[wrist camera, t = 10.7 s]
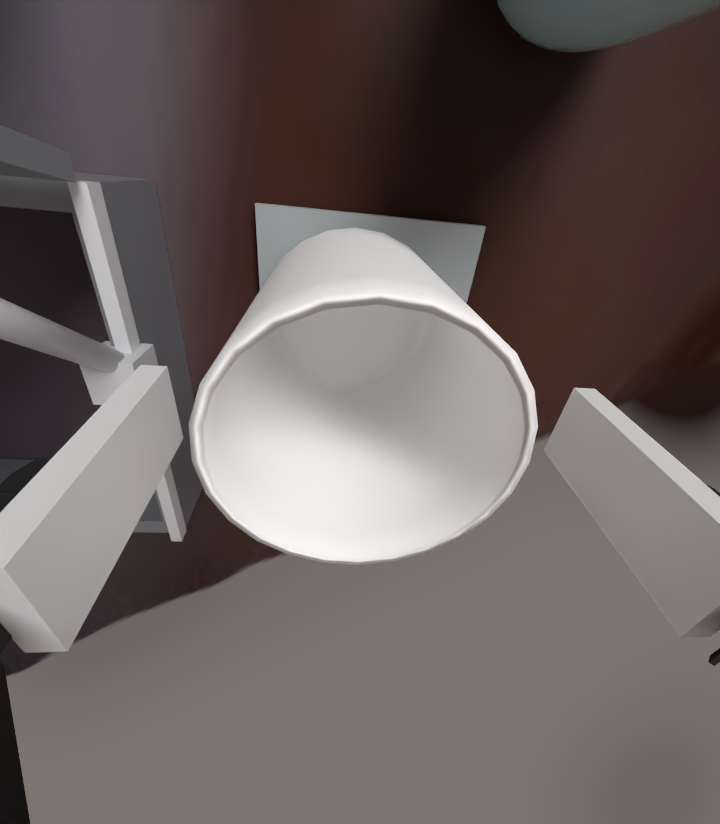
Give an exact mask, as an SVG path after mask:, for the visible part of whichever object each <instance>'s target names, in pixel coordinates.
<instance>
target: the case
mask: <svg viewBox="0 0 720 824" xmlns="http://www.w3.org/2000/svg"><path fill="white" fill-rule="evenodd" d="M74 175H75V180H76V183H73V182H63V181H53V180H43V179H33V178H23V177H14V176H4V175H0V206H5V207H15V208H26V209H37V210H48V211H58V212H69V213H72V215H73V219H74V222H75V225H76V229H77V232H78V235H79V239H80V242H81V246H82V249H83V252H84V256H85V259H86V263H87V266H88V269H89V273H90V276H91V279H92V283H93V286H94V290H95V293H96V296H97V300H98V303H99V306H100V310H101V313H102V317H103V320H104V323H105V327H106V330H107V334H108V337H109V340H110V341H104V342H103V343H100V342H98V341H96V340H93V339H91V338H89V337H87V336H84V335H82V334H80V333H78V332H76V331H73V330H71V329H69V328H67V327H64V326H62V325H60V324H58V323H55V322H53V321H51V320H49V319H46V318H44V317H42V316H40V315H37V314H35V313H33V312H31V311H28V310H26V309H24V308H22V307H20V306H17V305H15V304H13V303H11V302H8V301H6V300H4V299H2V298H0V339H2V340H5V341H8V342H12V343H15V344H18V345H21V346H24V347H27V348H30V349H33V350H37V351H40V352H43V353H46V354H49V355H52V356H55V357H59V358H62V359H65V360H68V361H71V362H74V363H77V364H79V366H80V368H81V371H82V374H83V377H84V380H85V382H86V385H87V388H88V391H89V394H90V396H91V399H92V402H93V405H103V404H104V403H105V402H106V401H107V400H108V399H109V397H110V396H111V395H112V394H113V393H114V392H115V391H116V390H117V389H118V388H119V387H120V386H121V385H122V384H123V383H124V382H125V381H126V380H127V378H128V377H129V376H130V375H131V374H132V373H133V372H134V371H135V370H136V369H137V368H138V367H139V366H140V365H153V366H167V367H168V372H169V376H170V380H171V385H172V389H173V394H174V398H175V403H176V407H177V412H178V416H179V420H180V425H181V429H182V434H183V440H182V442H181V444H180V445H179V447H178V449H177V451H176V453H175V455H174V457H173V458H172V460H171V462H170V464H169V466H168V468H167V469H166V471H165V473H164V475H163V477H162V479H161V481H160V482H159V484H158V486H157V488H156V490H155V492H154V493H153V495H152V497H151V499H150V501H149V503H148V505H147V506H146V508H145V510H144V512H143V514H142V516H141V517H140V519H139V521H138V523H137V525H136V527H135V529H134V530H133V532H150V533H169V535H170V538H171V541H182V540H183V538H184V535H185V533H186V531H187V530H186V526H187V524H188V522H189V519H190V517H191V515H192V512H193V510H194V507H195V505H196V503H197V500H198V498H199V496H200V493H201V491H202V489H203V486H202V484H201V481H200V479H199V477H198V475H197V472H196V470H195V468H194V465H193V463H192V459H191V447H190V436H189V420H190V417H191V413H192V409H193V406H194V402H195V401H194V395H193V390H192V384H191V379H190V373H189V367H188V362H187V356H186V351H185V345H184V340H183V334H182V328H181V323H180V317H179V312H178V306H177V301H176V295H175V289H174V284H173V278H172V273H171V267H170V262H169V256H168V250H167V245H166V239H165V234H164V228H163V223H162V217H161V211H160V206H159V200H158V195H157V189H156V184H155V180H150V179H141V178H131V177H121V176H112V175H102V174H92V173H83V172H74ZM32 461H33V460H25V459H0V484H1V483H2V482H3V481H4V480H5V479H6V478H7V477H8V476H9V475H10V474H11V473H13V472H15V471H16V470H18V469H20V468H21V467H23V466H25V465H27V464H28V463H30V462H32Z"/></svg>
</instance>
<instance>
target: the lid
mask: <svg viewBox="0 0 720 824" xmlns="http://www.w3.org/2000/svg"><path fill="white" fill-rule="evenodd" d="M0 175H4V176H14V177H23V178H33V179H43V180H53V181H63V182H73V183H76V180H75V175H74V170H73V164H72V159H71V154H70V152H68V151H65V150H63V149H60V148H58V147H55V146H53V145H50V144H48V143H45V142H43V141H40V140H38V139H35V138H33V137H30V136H27V135H25V134H22V133H20V132H17V131H15V130H12V129H10V128H7V127H5V126H2V125H0Z"/></svg>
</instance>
